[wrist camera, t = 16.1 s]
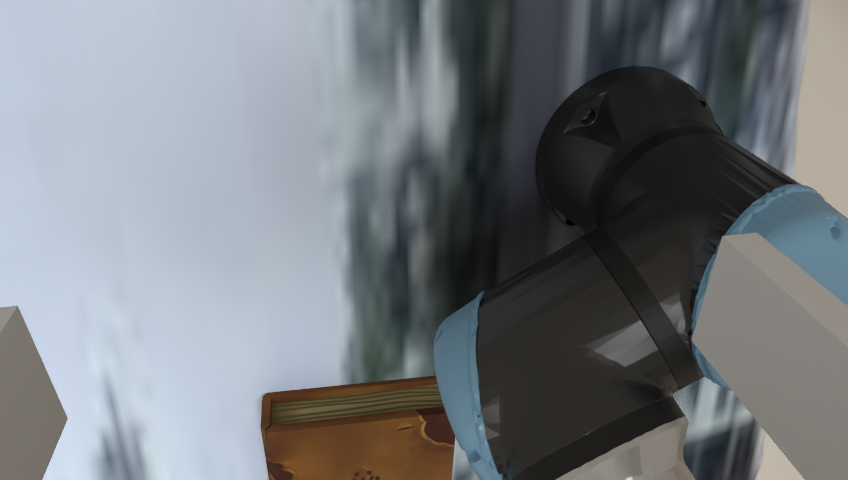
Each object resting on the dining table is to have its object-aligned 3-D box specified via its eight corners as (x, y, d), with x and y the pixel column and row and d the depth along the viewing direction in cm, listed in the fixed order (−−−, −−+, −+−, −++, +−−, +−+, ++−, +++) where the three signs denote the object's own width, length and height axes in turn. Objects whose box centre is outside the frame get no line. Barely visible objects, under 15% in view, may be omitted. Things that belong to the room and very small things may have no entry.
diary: (263, 388, 62) (260, 433, 57) (445, 370, 65) (457, 411, 60) (283, 528, 73) (282, 575, 69) (436, 507, 77) (445, 550, 72)
